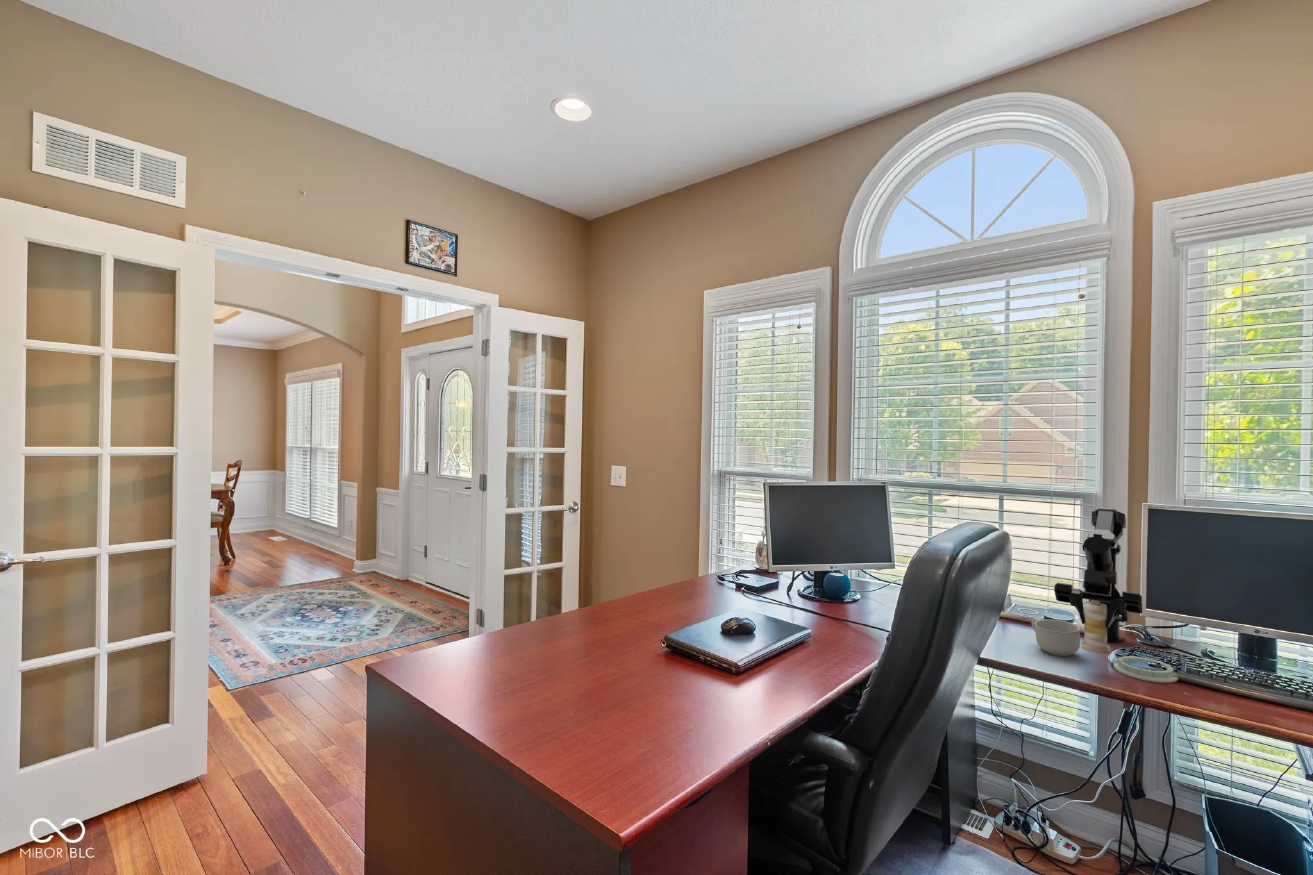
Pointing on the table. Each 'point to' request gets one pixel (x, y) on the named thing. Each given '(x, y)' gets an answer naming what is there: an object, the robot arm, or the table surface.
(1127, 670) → the ring dish
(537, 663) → the table surface
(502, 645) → the table surface
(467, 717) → the table surface
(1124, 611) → the robot arm
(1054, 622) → the teacup
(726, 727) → the table surface
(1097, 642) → the bead column
